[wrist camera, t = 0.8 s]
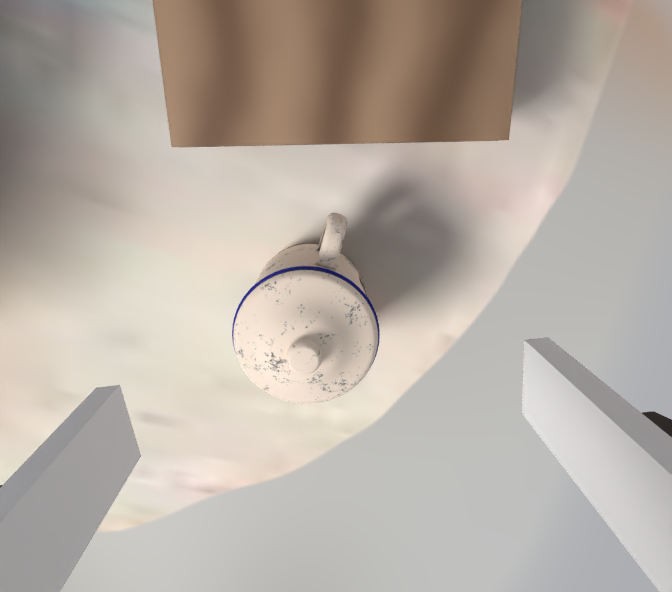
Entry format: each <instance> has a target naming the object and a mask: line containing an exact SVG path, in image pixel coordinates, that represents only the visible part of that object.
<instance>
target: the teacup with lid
mask: <svg viewBox="0 0 672 592" xmlns="http://www.w3.org/2000/svg"><path fill="white" fill-rule="evenodd" d="M346 227H347V220H346V218H345V216H343V215H340V214H337V213H332V214H330V215H329V216H328V218H327V220H326V223H325V226H324V229H323V232H322V235H321V238H320V242H319V245H318V244H301V245H296V246H293V247H290V248H287V249H285V250H283V251H281V252H280V253H278V254H277V255H276V256H274V257H273V258H272V259H271V260H270V261H269V262H268V263H267V264H266V266H265V267H264V269H263V270H262V272H261V274H260V276H259V278H258V280H257V281H256V283H255V285H254V286H253V287H252V288H251V289H250V290H249V291H248V292H247V293H246V295H245V296H244V298H243V299H242V301H241V303H240V304H239V306H238V309H237V311H236V314H235V317H234V322H233V330H232V337H233V345H234V350H235V353H236V356H237V359H238V361H239V363H240V365H241V367H242V369H243V370H244V372H245V373H246V375H247V376H248V377H249V378H250V379H251V381H252V382H253V383H255V384H256V385H257V386H258V387H259V388H261V389H262V390H263V391H265V392H266V393H268V394H270V395H272V396H274V397H276V398H279V399H281V400H285V401H288V402H293V403H301V404H311V403H320V402H324V401H328V400H331V399H334V398H336V397H339V396H341V395H343V394H345V393H346V392H348V391H349V390H351V389H352V388H353V387H355V386H356V385H357V384H358V383H359V382H360V381H361V380H362V379H363V377H364V376H365V375H366V374H367V372H368V371H369V369H370V367H371V366H372V364H373V362H374V359H375V357H376V354H377V351H378V346H379V324H378V319H377V316H376V313H375V310H374V308H373V306H372V304H371V302H370V301H369V299H368V297H367V295H366V292H365V288H364V285H363V282H362V279H361V276H360V274H359V272H358V271H357V269H356V267H355V266H354V265H353V263H352V262H351V261H350V260H349V259H348V258H347V257H345V256H344V255H343V254H341V253H340V252H341V248H342V245H343V241H344V237H345V233H346Z"/></svg>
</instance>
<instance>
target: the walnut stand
mask: <svg viewBox="0 0 672 592" xmlns="http://www.w3.org/2000/svg"><path fill="white" fill-rule="evenodd" d="M153 7H154V14H155V22H156V30H157V37H158V45H159V53H160V61H161V68H162V76H163V84H164V92H165V99H166V107H167V115H168V122H169V130H170V138H171V146H172V147H219V146H267V145H315V144H363V143H411V142H459V141H499V140H509V133H510V123H511V113H512V102H513V92H514V82H515V71H516V61H517V51H518V40H519V30H520V20H521V9H522V0H153Z"/></svg>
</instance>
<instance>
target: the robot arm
mask: <svg viewBox="0 0 672 592" xmlns="http://www.w3.org/2000/svg"><path fill="white" fill-rule="evenodd" d="M523 374H524V375H523V403H522V414H523V415H524V417H525V418H526V419H527V421H528V422H529V423H530V424H531V426H532V427H533V428H534V430H535V431H536V432H537V433H538V435H539V436H540V437H541V439H542V440H543V441H544V442H545V443H546V445H547V446H548V448H549V449H550V450H551V452H552V453H553V454H554V456H555V457H556V458H557V459H558V461H559V462H560V463H561V464H562V466H563V467H564V468H565V470H566V471H567V472H568V474H569V475H570V476H571V478H572V479H573V480H574V481H575V483H576V484H577V485H578V486H579V488H580V489H581V490H582V492H583V493H584V494H585V496H586V497H587V498H588V500H589V501H590V502H591V503H592V505H593V506H594V507H595V509H596V510H597V511H598V512H599V514H600V515H601V516H602V518H603V519H604V520H605V522H606V523H607V524H608V525H609V527H610V528H611V529H612V531H613V532H614V533H615V535H616V536H617V537H618V538H619V540H620V541H621V542H622V543H623V545H624V546H625V547H626V549H627V550H628V551H629V553H630V554H631V555H632V557H633V558H634V559H635V560H636V562H637V563H638V564H639V566H640V567H641V568H642V570H643V571H644V572H645V573H646V575H647V576H648V577H649V579H650V580H651V581H652V582H653V584H654V585H655V586H656V588H657V589H658V590H659V592H672V420H671V419H669V418H667V417H664V416H662V415H660V414H658V413H656V412H645V413H641V412H639V411H638V410H637V409H636V408H635V407H633V406H632V405H631V404H630V403H628V402H627V401H626V400H625V399H623V398H622V397H621V396H620V395H619V394H617V393H616V392H615V391H614V390H612V389H611V388H610V387H609V386H607V385H606V384H605V383H604V382H603V381H601V380H600V379H599V378H598V377H596V376H595V375H594V374H593V373H591V372H590V371H589V370H588V369H587V368H585V367H584V366H583V365H582V364H580V363H579V362H578V361H577V360H575V359H574V358H573V357H572V356H570V355H569V354H568V353H567V352H565V351H564V350H563V349H562V348H561V347H559V346H558V345H557V344H556V343H555V342H553V341H551V339H549V338H548V337H547V338H538V339H529V340H524V371H523ZM140 457H141V455H140V451H139V448H138V445H137V441H136V438H135V435H134V431H133V428H132V425H131V421H130V418H129V414H128V411H127V408H126V404H125V401H124V398H123V394H122V391H121V388H120V385H116V386H107V387H98V388H95V390H94V391H93V392H92V393H91V394H90V395H89V396H88V397H87V398H86V399H85V400H84V401H83V402H82V403H81V404H80V405H79V406H78V407H77V408H76V409H75V410H74V411H73V412H72V414H71V415H70V416H69V417H68V418H67V419H66V420H65V421H64V422H63V423H62V424H61V425H60V426H59V427H58V428H57V429H56V430H55V431H54V432H53V433H52V434H51V435H50V436H49V438H48V439H47V440H46V441H45V442H44V443H43V444H42V445H41V446H40V447H39V448H38V449H37V450H36V451H35V452H34V453H33V454H32V455H31V456H30V457H29V458H28V459H27V460H26V462H25V463H24V464H23V465H22V466H21V467H20V468H19V469H18V470H17V471H16V472H15V473H14V474H13V475H12V476H11V477H10V478H9V479H8V480H7V481H6V482H5V483H4V484H3V485H0V592H60V591H61V589H62V588H63V586H64V584H65V582H66V581H67V579H68V577H69V576H70V574H71V572H72V571H73V569H74V567H75V566H76V564H77V562H78V561H79V559H80V557H81V556H82V554H83V552H84V551H85V549H86V547H87V546H88V544H89V542H90V540H91V539H92V537H93V535H94V534H95V532H96V530H97V529H98V527H99V525H100V524H101V522H102V520H103V519H104V517H105V515H106V514H107V512H108V510H109V509H110V507H111V505H112V504H113V502H114V500H115V499H116V497H117V495H118V493H119V492H120V490H121V488H122V487H123V485H124V483H125V482H126V480H127V478H128V477H129V475H130V473H131V472H132V470H133V468H134V467H135V465H136V463H137V462H138V460H139V458H140Z"/></svg>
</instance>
